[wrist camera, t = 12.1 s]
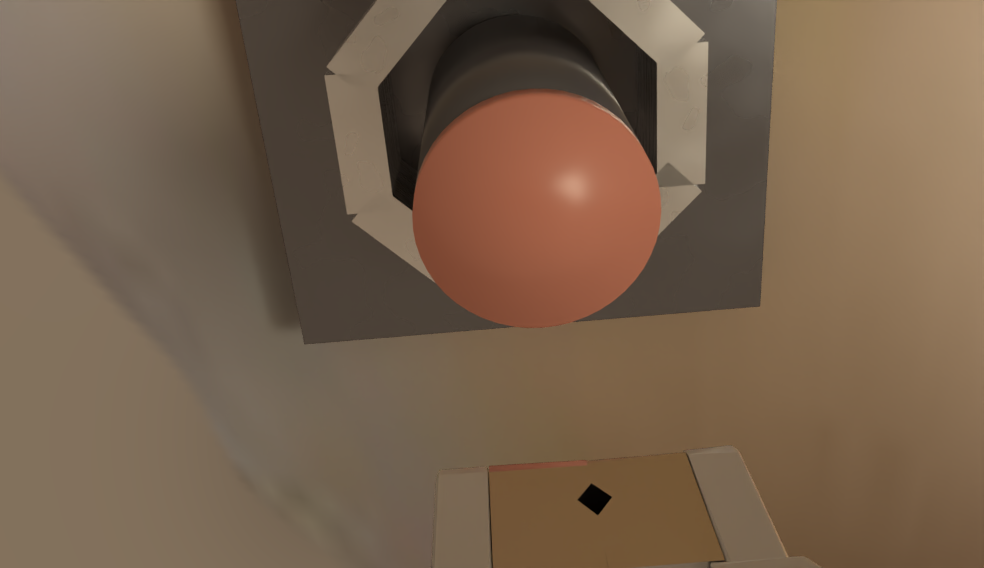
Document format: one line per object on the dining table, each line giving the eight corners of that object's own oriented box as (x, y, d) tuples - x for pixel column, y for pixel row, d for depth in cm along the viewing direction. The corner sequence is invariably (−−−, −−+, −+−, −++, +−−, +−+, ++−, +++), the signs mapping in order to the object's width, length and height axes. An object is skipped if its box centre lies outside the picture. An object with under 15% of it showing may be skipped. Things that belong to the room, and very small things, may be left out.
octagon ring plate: (769, -214, 23) (835, -227, 18) (746, 284, 29) (791, 356, 25) (218, -163, 23) (164, -165, 19) (312, 321, 29) (286, 398, 25)
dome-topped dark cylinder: (603, 8, 23) (664, 88, 16) (605, 181, 25) (658, 319, 18) (419, 21, 23) (398, 107, 16) (436, 193, 25) (425, 335, 18)
